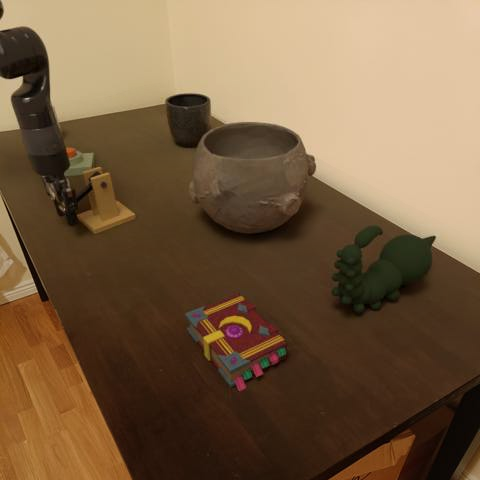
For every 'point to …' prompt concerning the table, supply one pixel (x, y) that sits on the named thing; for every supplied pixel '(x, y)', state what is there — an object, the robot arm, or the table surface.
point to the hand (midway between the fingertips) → (68, 219)
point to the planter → (188, 117)
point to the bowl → (250, 175)
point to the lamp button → (71, 152)
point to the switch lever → (83, 191)
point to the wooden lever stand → (103, 204)
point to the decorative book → (236, 339)
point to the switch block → (80, 163)
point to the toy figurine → (380, 268)
